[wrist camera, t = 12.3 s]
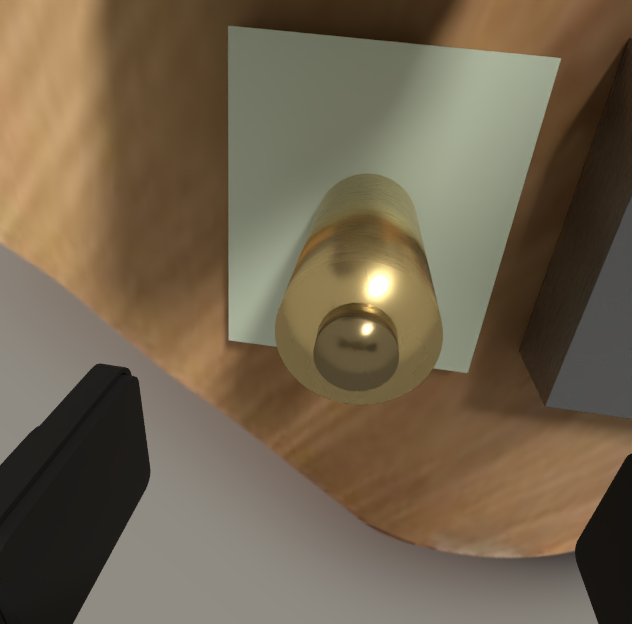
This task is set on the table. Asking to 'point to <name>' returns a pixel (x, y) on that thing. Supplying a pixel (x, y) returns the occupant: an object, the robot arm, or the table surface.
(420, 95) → the board
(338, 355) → the tan cylindrical piece
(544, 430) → the table surface
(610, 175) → the housing
